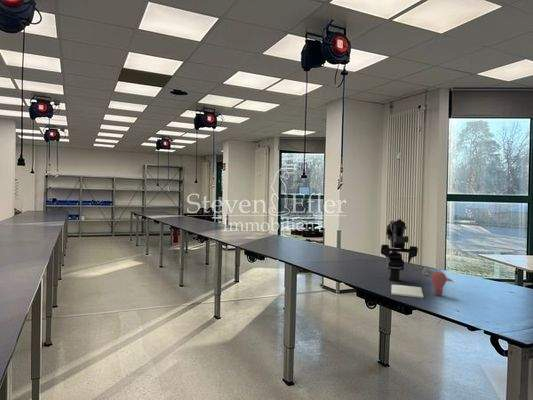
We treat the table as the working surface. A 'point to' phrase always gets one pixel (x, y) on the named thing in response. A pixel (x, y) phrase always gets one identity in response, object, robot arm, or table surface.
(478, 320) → the table surface
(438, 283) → the light bulb
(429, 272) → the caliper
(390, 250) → the robot arm
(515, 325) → the table surface
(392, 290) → the mat
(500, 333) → the table surface
